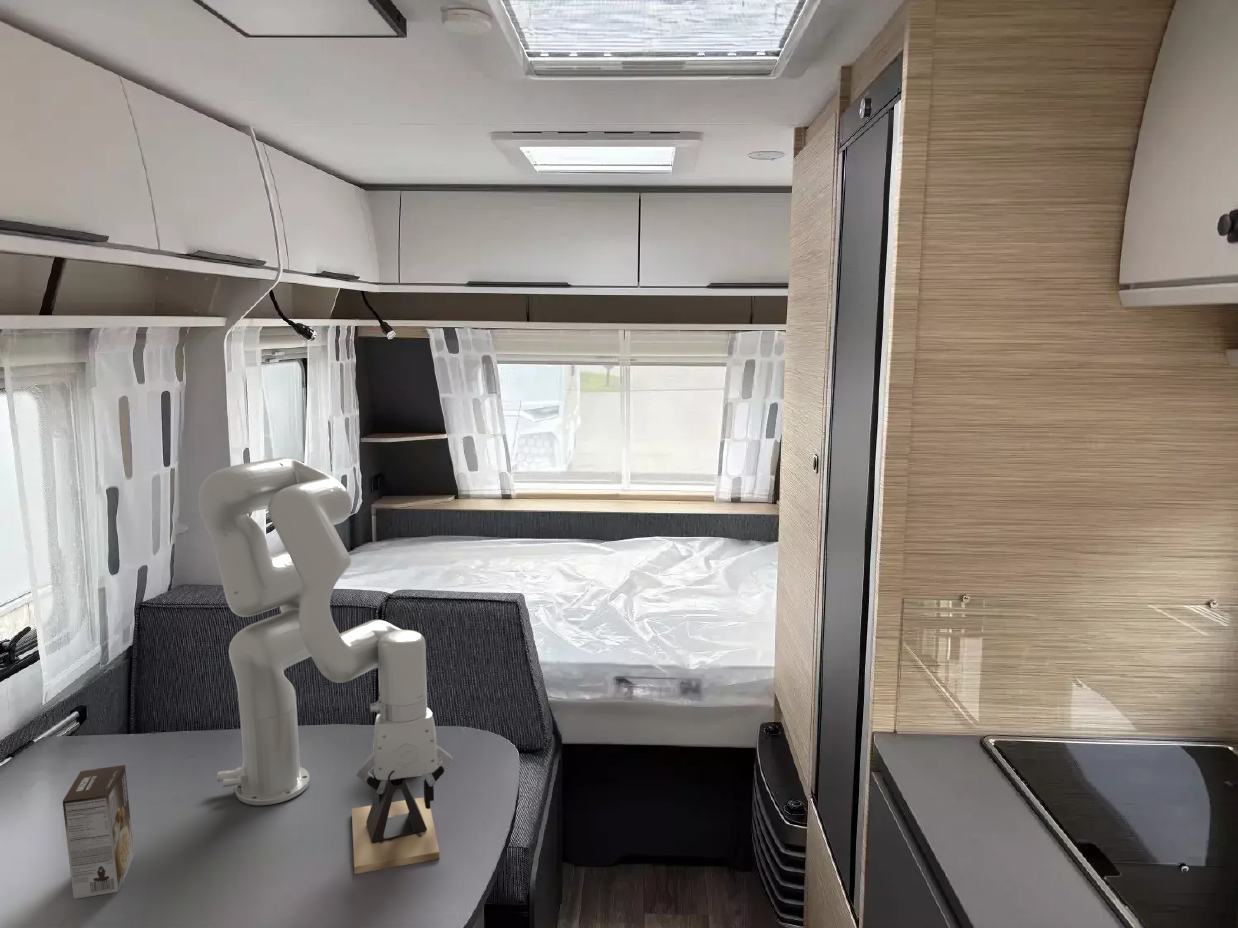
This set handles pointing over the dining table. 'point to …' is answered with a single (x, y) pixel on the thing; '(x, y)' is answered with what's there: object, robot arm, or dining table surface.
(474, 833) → the dining table surface
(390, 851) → the marked board
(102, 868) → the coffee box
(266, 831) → the dining table surface
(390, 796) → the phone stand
